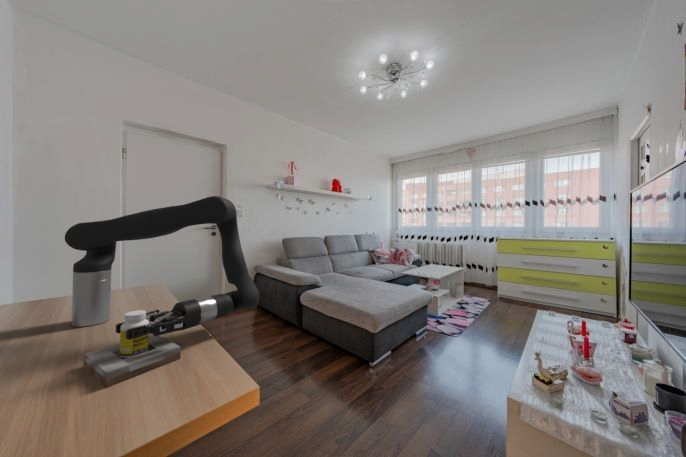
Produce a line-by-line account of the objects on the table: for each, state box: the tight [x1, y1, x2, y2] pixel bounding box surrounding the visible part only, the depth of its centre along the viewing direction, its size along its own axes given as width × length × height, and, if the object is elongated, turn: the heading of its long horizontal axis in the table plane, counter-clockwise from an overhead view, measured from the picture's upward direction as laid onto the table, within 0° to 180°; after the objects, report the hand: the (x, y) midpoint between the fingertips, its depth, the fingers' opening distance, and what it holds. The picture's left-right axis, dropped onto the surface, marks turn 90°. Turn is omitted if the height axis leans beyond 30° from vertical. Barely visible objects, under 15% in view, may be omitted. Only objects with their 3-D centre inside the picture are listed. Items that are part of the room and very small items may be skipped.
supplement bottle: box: [119, 309, 149, 358], centre depth 61 cm, size 5×5×10 cm
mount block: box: [83, 334, 182, 388], centre depth 61 cm, size 14×14×3 cm
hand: (121, 331), depth 59 cm, fingers closed on supplement bottle, 5 cm apart
